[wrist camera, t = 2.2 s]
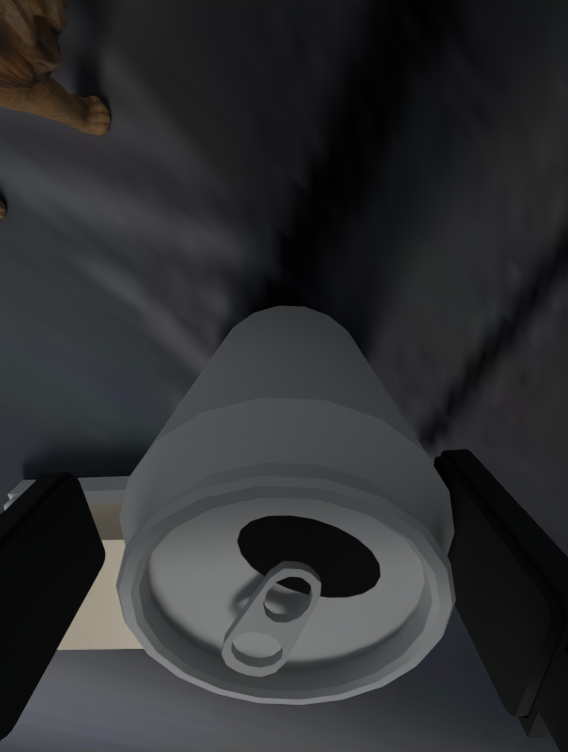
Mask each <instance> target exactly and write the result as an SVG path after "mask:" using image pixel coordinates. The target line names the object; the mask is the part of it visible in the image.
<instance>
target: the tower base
mask: <svg viewBox="0 0 568 752" xmlns="http://www.w3.org/2000/svg"><path fill="white" fill-rule="evenodd" d="M129 477H130V476H118V477H91V478H77V479H78V480H79V481H80V484H81V486H82V489H83V492H84V495H85V497H86V500H87V503H88V505H89V508H90V511H91V514H92V516H93V519H94V522H95V524H96V527H97V530H98V532H99V535H100V538H101V541H102V543H103V546H104V549H105V553H106V556H105V562H104V565H103V567H102V569H101V570H100V572H99V574H98V576H97V578H96V580H95V581H94V583H93V585H92V587H91V589H90V590H89V592H88V594H87V596H86V598H85V599H84V601H83V603H82V605H81V607H80V609H79V610H78V612H77V614H76V616H75V618H74V619H73V621H72V623H71V625H70V627H69V628H68V630H67V632H66V634H65V636H64V637H63V639H62V641H61V643H60V645H59V647H58V648H57V650H82V649H144V648H143V647H142V645H141V644H140V643H139V641H138V640H137V639H136V637H135V636H134V634H133V633H132V632H131V630H130V629H129V628H128V626H127V625H126V623H125V621H124V618H123V614H122V610H121V606H120V601H119V597H118V593H117V589H116V582H117V578H118V574H119V570H120V566H121V562H122V558H123V554H124V549H125V543H124V538H123V533H122V529H121V524H120V519H119V518H120V514H121V509H122V505H123V500H124V496H125V491H126V487H127V482H128V478H129ZM35 481H36V480H23V481H22V482H21V483H20V484H19V485H17V486H16V487H15V488H14V489H13V490H12V491H11V492H10V493H8V496H9V498H10V500H9V501H8V502H7V503H6V504H5V505H4V509H5V510H6V509H7V508H8V507H9V506H10V505H11V504H12V503H13V502H14V501H15V500H16V499H17V498H18V497H19V496H20V495H21V494H22V493H23V492H24V491H25V490H27V489H28V488H29V487H30V486H31V485H32V484H33V483H34V482H35Z"/></svg>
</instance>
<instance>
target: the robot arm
mask: <svg viewBox="0 0 568 752" xmlns="http://www.w3.org/2000/svg"><path fill="white" fill-rule="evenodd" d="M434 467H435V469H436V471H437V472H438V474H439V475H440V477H441V479H442V480H443V482H444V484H445V485H446V487H447V489H448V490H449V492H450V500H451V508H452V516H453V524H454V536H453V539H452V542H451V545H450V548H449V552H448V555H447V557H448V559H449V561H450V563H451V569H452V576H453V584H454V591H455V598H456V601H455V606H456V608H457V610H458V612H459V614H460V616H461V618H462V620H463V623H464V625H465V627H466V629H467V631H468V633H469V635H470V637H471V639H472V641H473V643H474V645H475V647H476V649H477V652H478V654H479V656H480V658H481V660H482V662H483V664H484V666H485V668H486V670H487V672H488V674H489V676H490V679H491V681H492V683H493V685H494V687H495V689H496V691H497V693H498V695H499V697H500V699H501V701H502V703H503V705H504V707H505V708H506V710H507V711H508V713H509V714H510V715H511V716H517V717H518V719H519V721H520V723H521V725H522V727H523V729H524V731H525V733H526V735H527V737H548V736H552V737H553V739H554V741H555V743H556V745H557V746H558V748H559V750H560V752H568V557H567V556H566V555H565V554H564V553H563V552H562V550H561V549H560V548H559V547H558V546H557V545H556V544H555V543H554V542H553V541H552V540H551V538H550V537H549V536H548V535H547V534H546V533H545V532H544V531H543V530H542V529H541V528H540V526H539V525H538V524H537V523H536V522H535V521H534V520H533V519H532V518H531V517H530V516H529V514H528V513H527V512H526V511H525V510H524V509H523V508H522V507H521V506H520V505H519V504H518V503H517V502H516V501H515V500H514V498H513V497H512V496H511V495H510V494H509V493H508V492H507V491H506V490H505V489H504V488H503V486H502V485H501V484H500V483H499V482H498V481H497V480H496V479H495V478H494V477H493V475H492V474H491V473H490V472H489V471H488V470H487V469H486V468H485V467H484V466H483V465H482V463H481V462H480V461H479V460H478V459H477V458H476V457H475V456H474V455H473V454H472V453H471V452H470V451H469V450H467V449H461V450H445V451H443V452H442V453H441V456H440V457H436V458H435V461H434ZM105 556H106V553H105V549H104V546H103V543H102V541H101V538H100V535H99V532H98V530H97V527H96V524H95V522H94V519H93V516H92V514H91V511H90V508H89V505H88V503H87V500H86V497H85V495H84V492H83V489H82V486H81V484H80V481H79V480H78V479H77V478H74V476H73V475H72V474H71V473H68V472H63V473H47V474H43V475H42V476H40V477H39V478H38V479H37V480H36V481H35V482H34V483H33V484H32V485H31V486H30V487H29V488H28V489H27V490H25V491H24V492H23V493H22V494H21V495H20V496H19V497H18V498H17V499H16V500H15V501H14V502H13V503H12V504H11V505H10V506H9V507H8V508H7V509H6V510H5V511H4V512H3V513H2V514H1V515H0V741H1V739H3V738H5V737H6V736H7V735H8V734H9V733H10V732H11V731H12V729H13V727H14V726H15V724H16V723H17V721H18V719H19V717H20V715H21V714H22V712H23V710H24V708H25V706H26V704H27V703H28V701H29V699H30V697H31V695H32V694H33V692H34V690H35V688H36V686H37V685H38V683H39V681H40V679H41V677H42V675H43V674H44V672H45V670H46V668H47V666H48V665H49V663H50V661H51V659H52V657H53V656H54V654H55V652H56V650H57V648H58V647H59V645H60V643H61V641H62V639H63V637H64V636H65V634H66V632H67V630H68V628H69V627H70V625H71V623H72V621H73V619H74V618H75V616H76V614H77V612H78V610H79V609H80V607H81V605H82V603H83V601H84V599H85V598H86V596H87V594H88V592H89V590H90V589H91V587H92V585H93V583H94V581H95V580H96V578H97V576H98V574H99V572H100V570H101V569H102V567H103V565H104V562H105Z"/></svg>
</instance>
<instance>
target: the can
mask: <svg viewBox="0 0 568 752" xmlns="http://www.w3.org/2000/svg"><path fill="white" fill-rule="evenodd" d="M119 519H120V524H121V529H122V533H123V538H124V543H125V549H124V554H123V558H122V562H121V566H120V570H119V574H118V578H117V582H116V589H117V593H118V597H119V601H120V606H121V610H122V614H123V618H124V621H125V623H126V625H127V626H128V628H129V629H130V630H131V632H132V633H133V634H134V636H135V637H136V639H137V640H138V641H139V643H140V644H141V645H142V647H143V648H144V650H145V651H146V652H147V654H148V655H150V656H151V657H152V658H154V659H155V660H156V661H158V662H159V663H160V664H162V665H163V666H164V667H166V668H167V669H168V670H170V671H171V672H172V673H174V674H175V675H177V676H178V677H179V678H182V679H184V680H186V681H189V682H191V683H193V684H196V685H198V686H200V687H202V688H205V689H207V690H209V691H212V692H214V693H216V694H220V695H225V696H229V697H234V698H238V699H243V700H247V701H252V702H257V703H273V704H295V705H303V704H311V703H319V702H326V701H334V700H342V699H346V698H349V697H352V696H355V695H358V694H361V693H364V692H367V691H370V690H373V689H376V688H379V687H382V686H384V685H386V684H388V683H389V682H391V681H393V680H394V679H396V678H397V677H399V676H401V675H402V674H404V673H406V672H407V671H409V670H411V669H412V668H414V667H416V666H417V665H418V664H419V663H420V661H421V660H422V659H423V658H424V657H425V656H426V655H427V654H428V653H429V651H430V650H431V649H432V648H433V647H434V646H435V645H436V644H437V642H438V641H439V640H440V639H441V638H442V636H443V634H444V632H445V629H446V626H447V624H448V621H449V618H450V615H451V612H452V609H453V606H454V604H455V601H456V598H455V591H454V584H453V576H452V569H451V563H450V561H449V559H448V557H447V555H448V552H449V548H450V545H451V542H452V539H453V536H454V524H453V516H452V508H451V500H450V492H449V490H448V489H447V487H446V485H445V484H444V482H443V480H442V479H441V477H440V475H439V474H438V472H437V471H436V469H435V467H434V466H433V464H432V462H431V461H430V459H429V458H428V456H427V454H426V453H425V451H424V449H423V448H422V446H421V445H420V443H419V442H418V440H417V439H416V437H415V435H414V434H413V432H412V431H411V429H410V428H409V426H408V424H407V423H406V421H405V420H404V418H403V417H402V415H401V413H400V412H399V410H398V409H397V407H396V406H395V404H394V403H393V401H392V399H391V398H390V396H389V395H388V393H387V392H386V390H385V388H384V387H383V385H382V384H381V382H380V381H379V379H378V377H377V376H376V374H375V373H374V371H373V370H372V368H371V367H370V365H369V363H368V362H367V360H366V359H365V357H364V356H363V354H362V352H361V351H360V349H359V348H358V346H357V345H356V343H355V341H354V340H353V338H352V337H351V335H350V334H349V332H348V331H347V330H346V329H345V328H343V327H342V326H341V325H340V324H338V323H337V322H336V321H335V320H333V319H332V318H331V317H330V316H328V315H326V314H323V313H320V312H317V311H315V310H312V309H309V308H307V307H298V306H276V307H273V308H269V309H266V310H262V311H259V312H255V313H253V314H252V315H250V316H249V317H247V318H246V319H244V320H243V321H242V322H240V323H239V324H237V325H236V326H234V327H233V328H232V330H231V331H230V333H229V334H228V335H227V337H226V338H225V339H224V341H223V342H222V343H221V345H220V346H219V348H218V349H217V351H216V352H215V353H214V355H213V356H212V358H211V359H210V361H209V362H208V364H207V365H206V367H205V368H204V369H203V371H202V372H201V374H200V375H199V377H198V378H197V380H196V381H195V382H194V384H193V385H192V387H191V388H190V390H189V391H188V393H187V394H186V396H185V397H184V398H183V400H182V401H181V403H180V404H179V406H178V407H177V409H176V410H175V412H174V413H173V414H172V416H171V417H170V419H169V420H168V422H167V423H166V425H165V426H164V428H163V429H162V430H161V432H160V433H159V435H158V436H157V438H156V439H155V441H154V442H153V443H152V445H151V446H150V448H149V449H148V451H147V452H146V454H145V455H144V457H143V458H142V459H141V461H140V462H139V464H138V465H137V467H136V468H135V470H134V471H133V473H132V474H131V475H130V477H129V478H128V482H127V487H126V491H125V496H124V500H123V505H122V509H121V514H120V518H119Z"/></svg>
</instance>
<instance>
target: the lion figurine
mask: <svg viewBox="0 0 568 752" xmlns="http://www.w3.org/2000/svg"><path fill="white" fill-rule="evenodd" d="M66 7H67V0H0V106H2V107H5V108H8V109H12V110H17V111H23V112H28V113H33V114H36V115H40V116H43V117H46V118H49V119H53V120H56V121H59V122H61V123H64V124H66V125H69V126H71V127H73V128H75V129H78V130H80V131H83V132H86V133H90V134H94V135H103V134H105V133H107V132H108V131H109V127H110V122H111V120H110V114H109V111H108V109H107V107H106V106H105V105H104V104H103V103H102V102H101V100H100V99H99V98H98V97H97V96H94V95H93V96H89V97H87V98H83V97H81V96H78V95H71V94H69V93H68V92H67V90H66V89H65V88H64V87H63V86H62V85H60V84H59V83H58V82H57V81H56V80H54V79H53V78H52V77H50V75H51V73H52V72H53V71H54V70H55V69H57V68H58V66H59V65H61V59H62V57H61V52H60V47H59V43H58V41H57V37H58V36H59V35H60V34H61V30H62V29H63V28H64V27H65V26H66V21H67V19H66V14H65V8H66ZM5 211H6V208H5V205H4V204H3V202H2V201H1V199H0V219H1V218H3V217H4V215H5Z"/></svg>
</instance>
